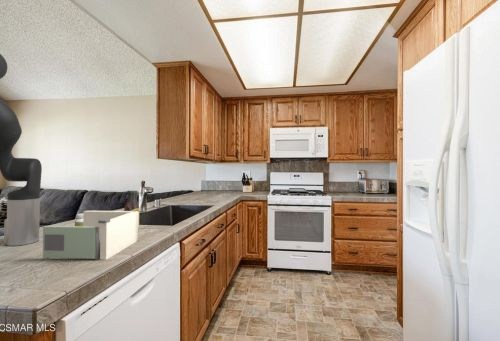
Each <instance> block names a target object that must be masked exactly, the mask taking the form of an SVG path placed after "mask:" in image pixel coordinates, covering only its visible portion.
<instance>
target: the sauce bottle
mask: <svg viewBox="0 0 500 341" xmlns="http://www.w3.org/2000/svg"><path fill="white" fill-rule="evenodd" d="M126 191H127V200H126V203H125V204H124V207H123V209H124V210H123V211H138V232H140V205H139V203H138V202H139V201H138V198H137V197H138V190H137V189H135V190H134V189H133V190H130V189H129V190H126Z"/></svg>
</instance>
